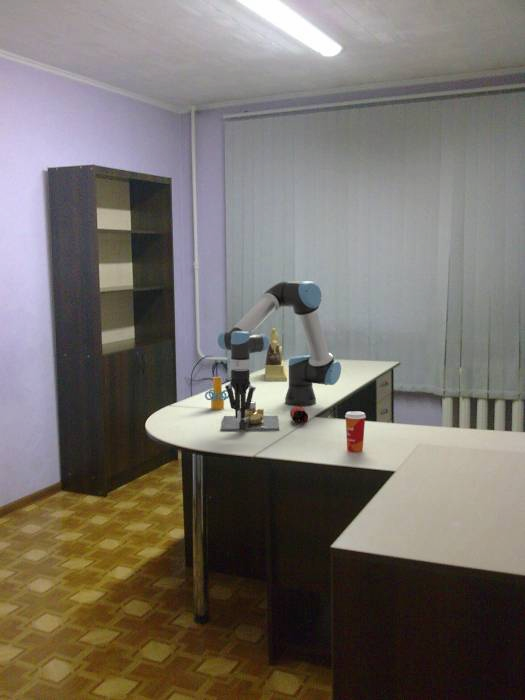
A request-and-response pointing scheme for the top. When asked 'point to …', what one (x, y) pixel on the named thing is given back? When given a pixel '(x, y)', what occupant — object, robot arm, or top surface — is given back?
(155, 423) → the top surface
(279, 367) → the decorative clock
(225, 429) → the flat plate
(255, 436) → the top surface
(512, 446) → the top surface
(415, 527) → the top surface
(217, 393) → the cylinder
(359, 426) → the paper cup
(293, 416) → the beverage can
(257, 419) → the brass knob with lugs
